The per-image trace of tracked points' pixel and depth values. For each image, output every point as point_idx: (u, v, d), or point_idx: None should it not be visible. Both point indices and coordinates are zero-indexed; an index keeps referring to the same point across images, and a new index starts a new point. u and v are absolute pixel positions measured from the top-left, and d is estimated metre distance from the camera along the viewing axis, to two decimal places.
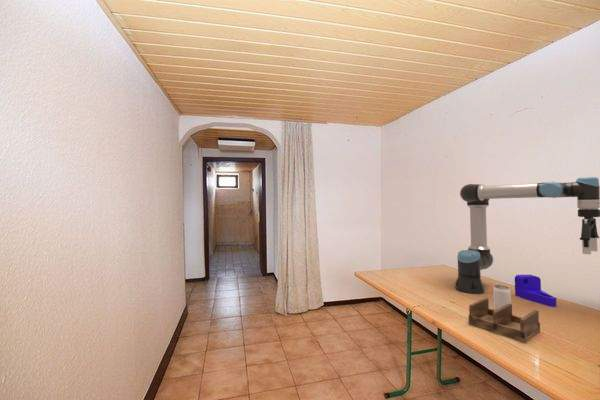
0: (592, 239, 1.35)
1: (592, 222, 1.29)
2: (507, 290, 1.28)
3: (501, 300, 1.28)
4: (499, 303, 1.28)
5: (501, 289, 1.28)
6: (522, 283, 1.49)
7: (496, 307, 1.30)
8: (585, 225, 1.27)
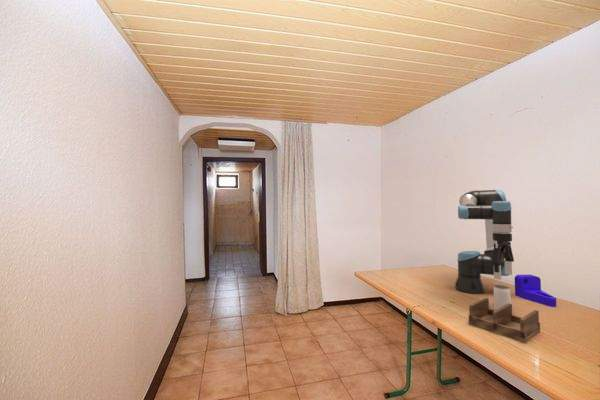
0: (507, 262, 1.34)
1: (504, 246, 1.28)
2: (507, 290, 1.28)
3: (501, 300, 1.28)
4: (499, 303, 1.28)
5: (501, 289, 1.28)
6: (522, 283, 1.49)
7: (496, 307, 1.30)
8: (496, 250, 1.27)
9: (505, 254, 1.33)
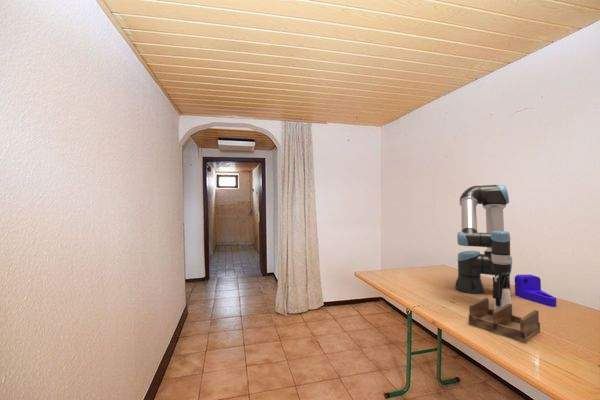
0: None
1: (503, 278, 1.28)
2: (507, 290, 1.28)
3: None
4: None
5: None
6: (522, 283, 1.49)
7: None
8: (495, 284, 1.27)
9: (503, 286, 1.32)
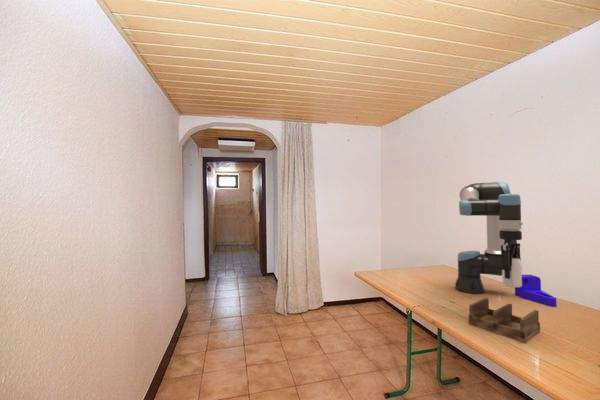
0: None
1: (513, 246, 1.12)
2: (518, 260, 1.12)
3: None
4: None
5: None
6: (522, 283, 1.49)
7: None
8: (504, 253, 1.11)
9: None
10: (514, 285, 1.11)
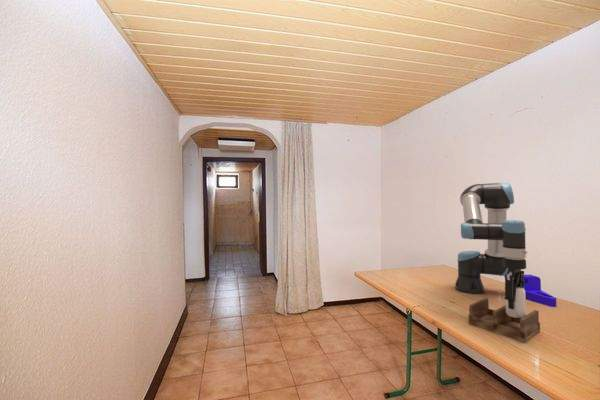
0: None
1: (517, 276, 1.08)
2: (522, 290, 1.08)
3: None
4: None
5: None
6: None
7: None
8: (508, 283, 1.07)
9: (516, 285, 1.12)
10: (518, 316, 1.07)
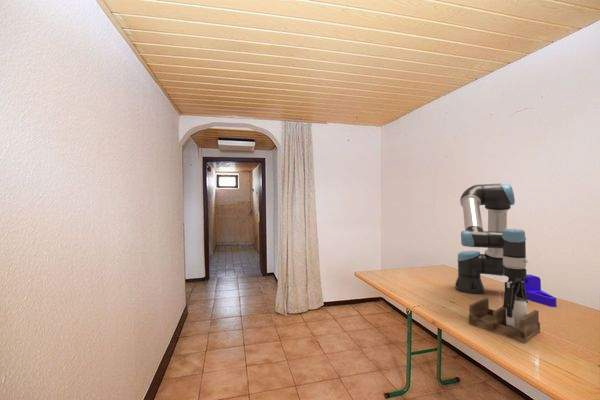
0: None
1: (517, 284, 1.08)
2: (524, 303, 1.08)
3: (516, 314, 1.08)
4: None
5: (517, 301, 1.08)
6: None
7: None
8: (508, 290, 1.07)
9: (517, 293, 1.13)
10: (519, 329, 1.07)
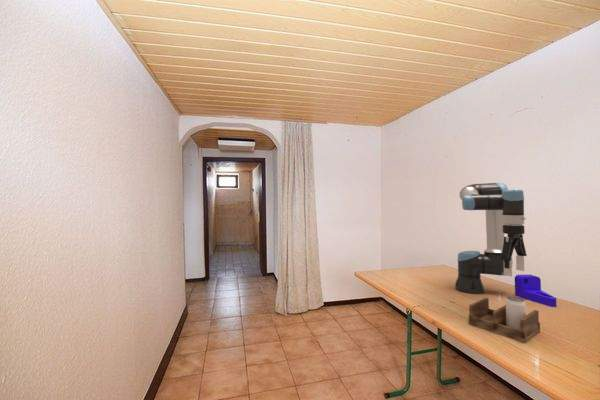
0: (519, 257, 1.22)
1: (515, 240, 1.16)
2: (522, 303, 1.08)
3: (515, 314, 1.08)
4: (513, 318, 1.08)
5: (515, 302, 1.08)
6: (522, 283, 1.49)
7: (509, 323, 1.10)
8: (506, 244, 1.14)
9: (516, 248, 1.21)
10: (518, 329, 1.07)
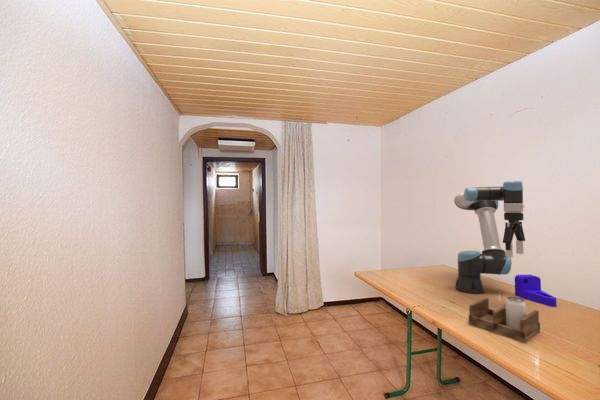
0: (519, 242, 1.37)
1: (515, 225, 1.31)
2: (522, 303, 1.08)
3: (515, 314, 1.08)
4: (513, 318, 1.08)
5: (515, 302, 1.08)
6: (522, 283, 1.49)
7: (509, 323, 1.10)
8: (507, 228, 1.29)
9: (516, 234, 1.36)
10: (518, 329, 1.07)
